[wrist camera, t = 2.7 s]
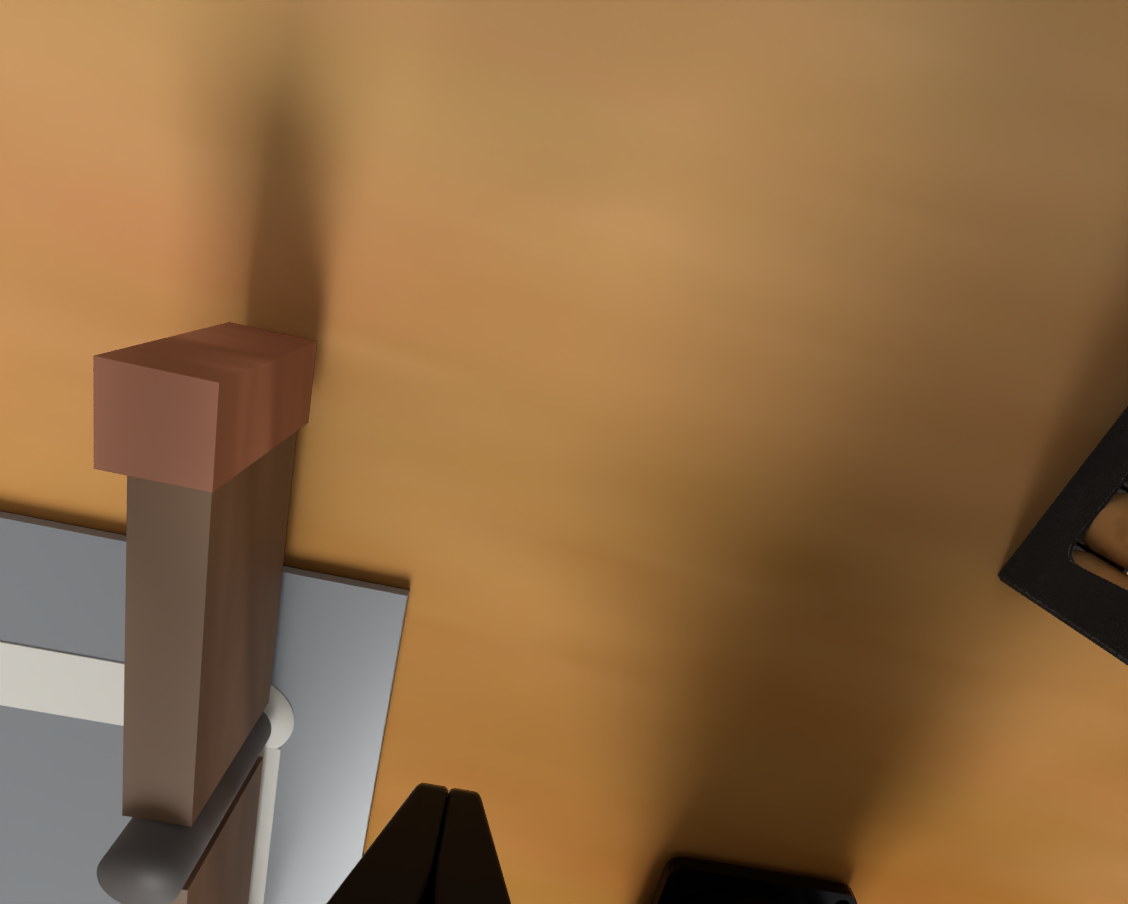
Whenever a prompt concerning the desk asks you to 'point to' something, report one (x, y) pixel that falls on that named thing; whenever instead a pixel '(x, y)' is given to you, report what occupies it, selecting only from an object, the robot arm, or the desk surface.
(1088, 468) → the ammunition clip
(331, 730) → the card
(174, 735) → the fence gate
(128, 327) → the desk surface
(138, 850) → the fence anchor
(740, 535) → the desk surface
